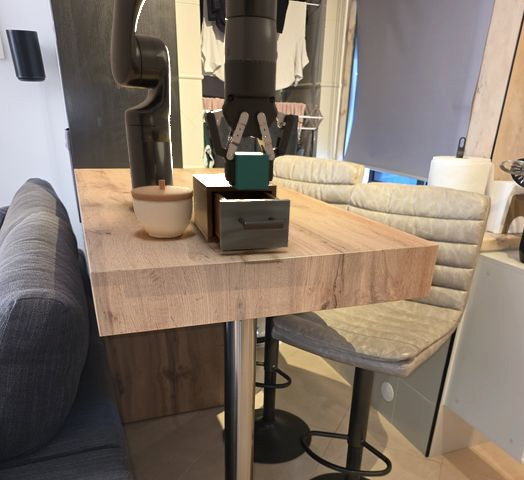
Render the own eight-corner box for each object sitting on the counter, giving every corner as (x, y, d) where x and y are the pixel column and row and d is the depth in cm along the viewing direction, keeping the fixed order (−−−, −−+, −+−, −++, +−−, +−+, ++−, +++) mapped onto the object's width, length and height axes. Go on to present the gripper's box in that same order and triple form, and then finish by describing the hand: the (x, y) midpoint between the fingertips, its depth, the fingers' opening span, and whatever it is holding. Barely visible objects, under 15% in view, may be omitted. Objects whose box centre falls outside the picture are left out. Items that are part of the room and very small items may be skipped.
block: (230, 185, 74) (230, 151, 72) (259, 184, 76) (260, 152, 73) (237, 189, 70) (237, 154, 68) (268, 189, 71) (269, 155, 69)
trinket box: (132, 229, 86) (126, 176, 82) (187, 226, 90) (185, 175, 85) (139, 243, 77) (134, 185, 73) (200, 239, 81) (199, 183, 77)
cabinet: (274, 239, 83) (276, 185, 78) (207, 241, 79) (206, 186, 75) (252, 220, 96) (253, 174, 92) (194, 222, 93) (192, 174, 89)
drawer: (298, 255, 70) (301, 205, 67) (227, 258, 67) (227, 207, 64) (263, 227, 87) (264, 186, 83) (205, 229, 84) (204, 187, 80)
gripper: (289, 64, 70) (283, 181, 78) (196, 59, 66) (200, 182, 74) (306, 60, 64) (298, 188, 71) (205, 53, 60) (208, 189, 68)
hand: (248, 184), depth 73 cm, fingers closed on block, 5 cm apart
